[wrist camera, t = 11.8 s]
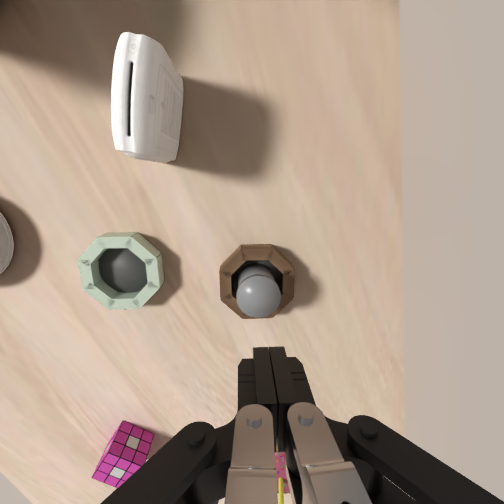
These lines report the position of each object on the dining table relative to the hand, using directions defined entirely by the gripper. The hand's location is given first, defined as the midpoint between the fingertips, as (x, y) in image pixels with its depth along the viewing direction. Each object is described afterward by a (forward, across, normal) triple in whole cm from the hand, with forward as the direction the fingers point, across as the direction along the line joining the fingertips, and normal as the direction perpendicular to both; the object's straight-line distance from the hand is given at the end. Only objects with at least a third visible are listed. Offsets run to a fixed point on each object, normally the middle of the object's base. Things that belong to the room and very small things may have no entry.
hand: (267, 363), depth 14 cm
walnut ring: (+27, -1, +6) cm, 28 cm away
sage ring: (+27, +17, +4) cm, 32 cm away
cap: (+26, -1, +6) cm, 27 cm away
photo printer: (+27, +10, -15) cm, 33 cm away
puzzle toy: (+27, +20, +34) cm, 48 cm away
